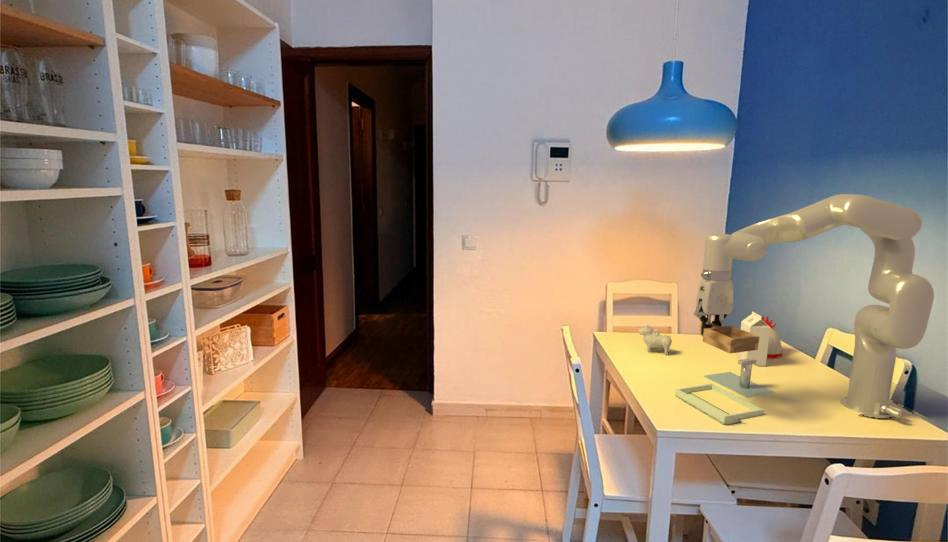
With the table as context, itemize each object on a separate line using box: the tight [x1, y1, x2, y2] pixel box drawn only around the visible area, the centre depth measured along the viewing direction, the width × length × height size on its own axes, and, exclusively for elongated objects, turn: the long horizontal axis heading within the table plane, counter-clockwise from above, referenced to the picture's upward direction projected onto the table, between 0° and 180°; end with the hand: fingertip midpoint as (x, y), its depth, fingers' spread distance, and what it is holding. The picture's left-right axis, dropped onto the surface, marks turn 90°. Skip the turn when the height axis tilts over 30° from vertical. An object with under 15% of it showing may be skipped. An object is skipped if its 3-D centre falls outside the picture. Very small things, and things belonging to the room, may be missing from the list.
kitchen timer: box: [761, 315, 783, 359], centre depth 192 cm, size 14×14×15 cm
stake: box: [737, 358, 756, 389], centre depth 156 cm, size 3×6×9 cm, turn 108°
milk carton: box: [737, 311, 770, 367], centre depth 179 cm, size 7×7×19 cm
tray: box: [675, 383, 765, 426], centre depth 145 cm, size 19×14×2 cm
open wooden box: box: [698, 321, 759, 354], centre depth 141 cm, size 15×10×4 cm, turn 18°
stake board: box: [703, 371, 777, 398], centre depth 159 cm, size 18×12×1 cm, turn 18°
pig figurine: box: [637, 324, 673, 356], centre depth 192 cm, size 5×13×11 cm, turn 61°
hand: (710, 334), depth 146 cm, fingers closed on open wooden box, 3 cm apart
